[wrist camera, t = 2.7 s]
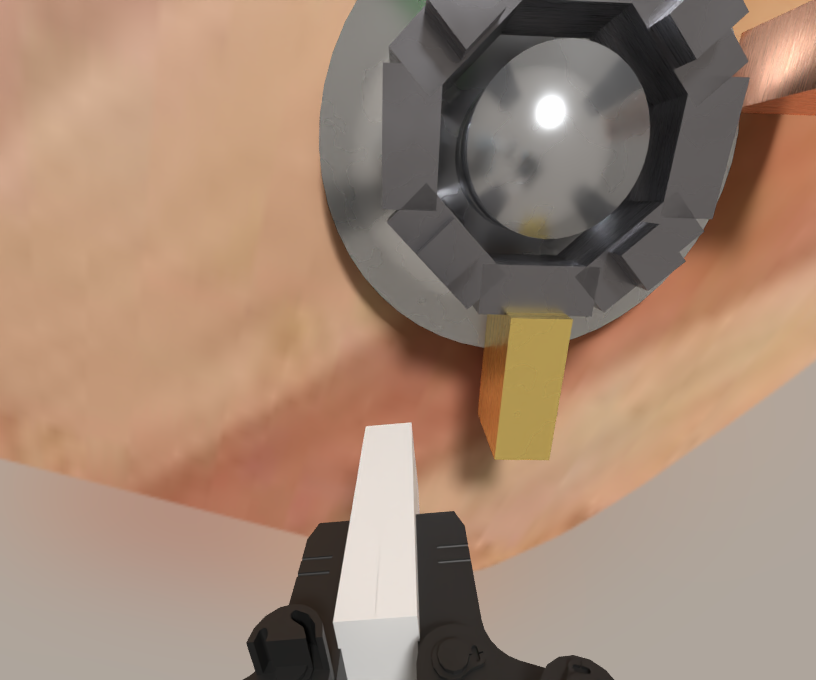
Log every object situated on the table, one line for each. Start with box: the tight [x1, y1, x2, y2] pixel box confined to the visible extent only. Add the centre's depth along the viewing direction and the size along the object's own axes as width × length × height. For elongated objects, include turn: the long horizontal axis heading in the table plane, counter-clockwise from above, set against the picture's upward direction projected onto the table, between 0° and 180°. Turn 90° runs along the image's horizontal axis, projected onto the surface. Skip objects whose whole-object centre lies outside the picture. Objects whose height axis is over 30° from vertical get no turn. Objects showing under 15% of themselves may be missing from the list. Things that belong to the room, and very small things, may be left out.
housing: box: [319, 0, 816, 348], centre depth 17 cm, size 21×18×6 cm
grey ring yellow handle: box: [382, 0, 750, 460], centre depth 17 cm, size 19×12×4 cm, turn 178°
